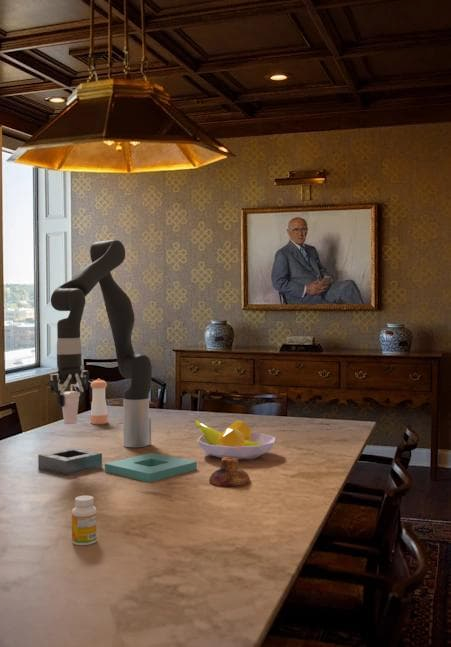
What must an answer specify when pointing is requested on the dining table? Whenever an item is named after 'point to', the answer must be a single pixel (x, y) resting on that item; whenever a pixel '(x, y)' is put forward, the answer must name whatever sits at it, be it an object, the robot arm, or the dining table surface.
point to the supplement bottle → (84, 521)
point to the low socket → (143, 470)
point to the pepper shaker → (98, 402)
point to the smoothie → (70, 406)
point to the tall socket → (70, 461)
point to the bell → (229, 474)
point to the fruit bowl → (234, 441)
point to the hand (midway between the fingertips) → (70, 405)
